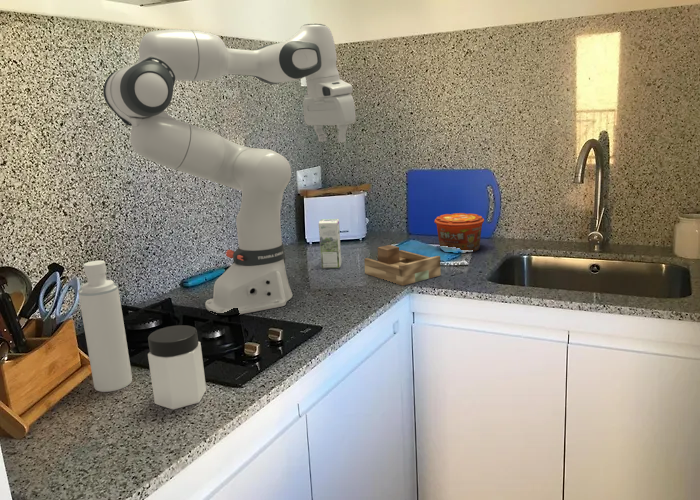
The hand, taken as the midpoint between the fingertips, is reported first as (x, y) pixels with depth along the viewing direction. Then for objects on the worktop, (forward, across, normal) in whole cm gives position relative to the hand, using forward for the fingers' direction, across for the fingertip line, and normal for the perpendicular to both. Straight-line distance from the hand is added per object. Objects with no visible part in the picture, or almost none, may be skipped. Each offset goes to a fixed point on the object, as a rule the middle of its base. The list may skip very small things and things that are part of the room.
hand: (332, 141), depth 162 cm
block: (+38, +2, +12) cm, 39 cm away
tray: (+40, +8, +11) cm, 43 cm away
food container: (+44, -1, +44) cm, 62 cm away
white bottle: (+31, +26, -73) cm, 83 cm away
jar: (+32, +40, -65) cm, 83 cm away
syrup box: (+39, -14, +2) cm, 42 cm away
